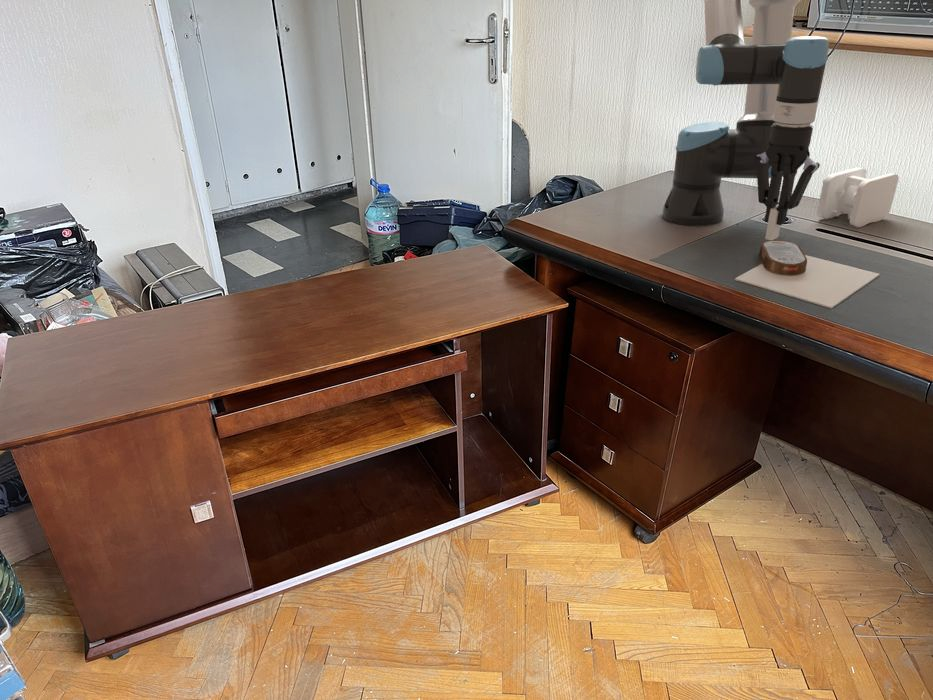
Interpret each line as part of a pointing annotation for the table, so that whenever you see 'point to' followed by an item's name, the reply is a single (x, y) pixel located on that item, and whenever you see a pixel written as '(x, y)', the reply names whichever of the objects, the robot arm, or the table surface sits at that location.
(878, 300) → the table surface
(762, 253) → the tin
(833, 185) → the cable organizer
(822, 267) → the mat
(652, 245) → the table surface
